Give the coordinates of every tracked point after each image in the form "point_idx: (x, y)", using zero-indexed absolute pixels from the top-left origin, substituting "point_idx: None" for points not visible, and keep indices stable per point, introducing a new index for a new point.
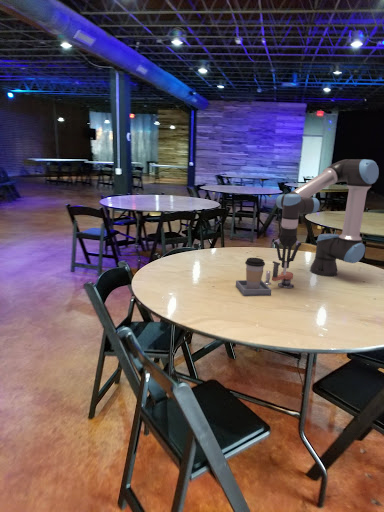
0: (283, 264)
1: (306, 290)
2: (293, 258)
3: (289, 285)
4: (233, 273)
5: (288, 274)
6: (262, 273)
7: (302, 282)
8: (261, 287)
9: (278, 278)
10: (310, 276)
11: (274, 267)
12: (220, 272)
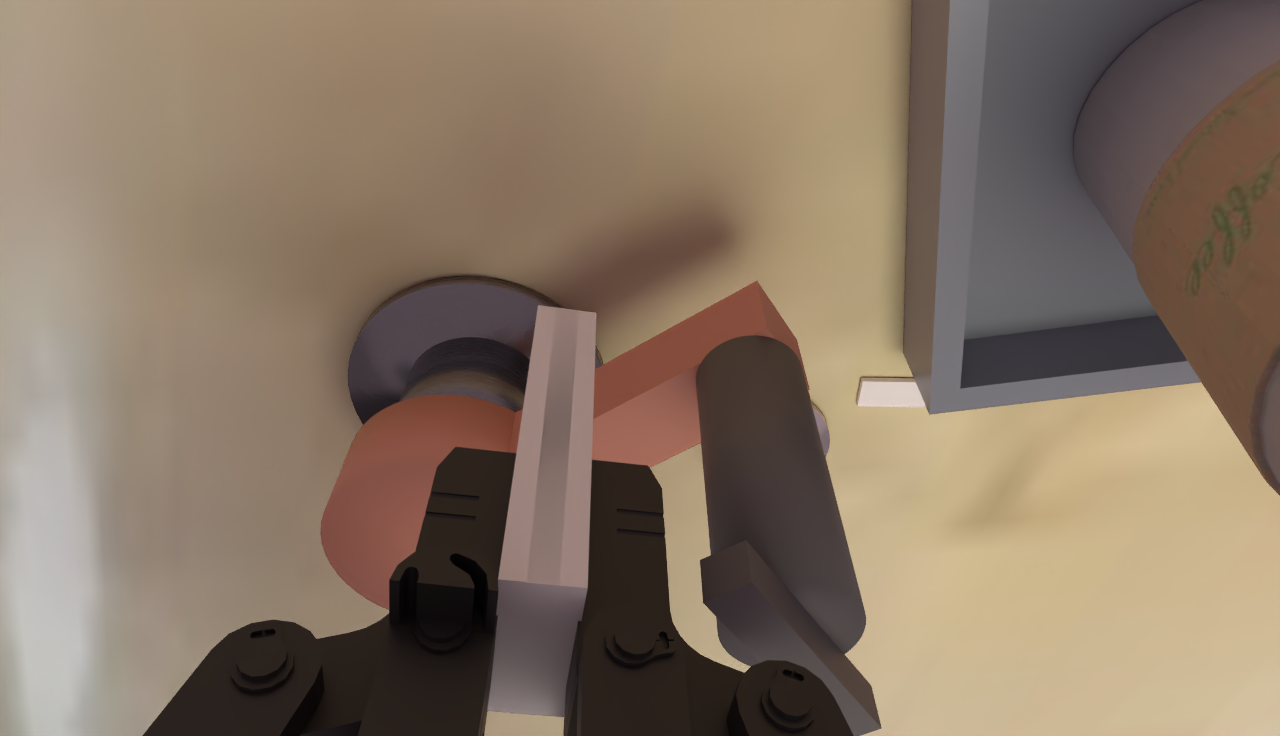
0: (615, 546)
1: (137, 213)
2: (186, 733)
3: (425, 355)
4: (1106, 697)
5: (428, 488)
6: (1253, 248)
7: (202, 519)
8: (977, 213)
9: (664, 358)
10: (92, 697)
11: (836, 519)
12: (1266, 710)
